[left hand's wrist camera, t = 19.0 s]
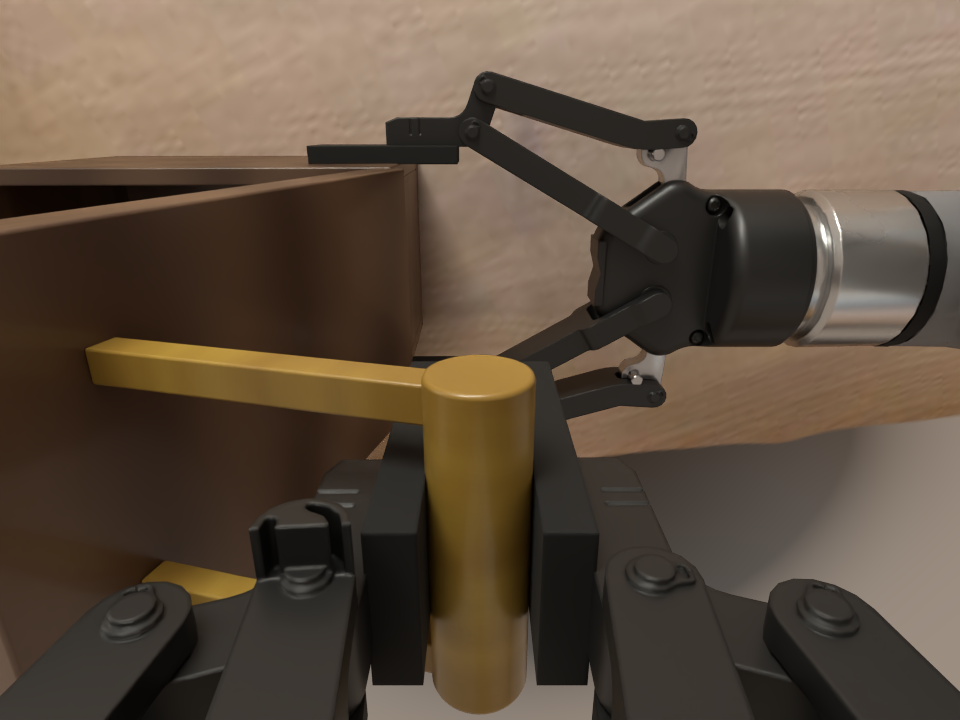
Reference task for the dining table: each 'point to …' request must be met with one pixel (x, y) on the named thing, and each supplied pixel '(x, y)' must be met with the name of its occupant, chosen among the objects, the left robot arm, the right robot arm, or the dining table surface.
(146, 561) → the lid
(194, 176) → the chest
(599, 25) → the dining table surface
